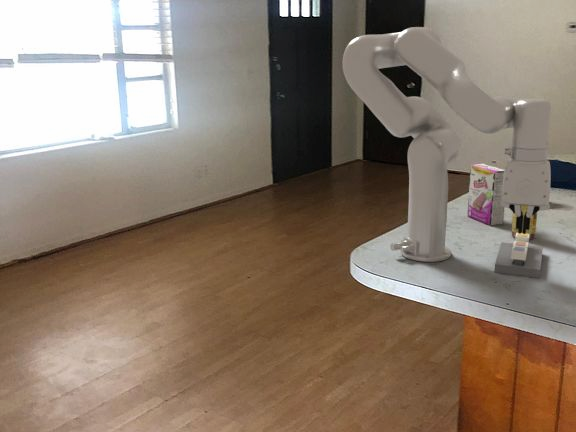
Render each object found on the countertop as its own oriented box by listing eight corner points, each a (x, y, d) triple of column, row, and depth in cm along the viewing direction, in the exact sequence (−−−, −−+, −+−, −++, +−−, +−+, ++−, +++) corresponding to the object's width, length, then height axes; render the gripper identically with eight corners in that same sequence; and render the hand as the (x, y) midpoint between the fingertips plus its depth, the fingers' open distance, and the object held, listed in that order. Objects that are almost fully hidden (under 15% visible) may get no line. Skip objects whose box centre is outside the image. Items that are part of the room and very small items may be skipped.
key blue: (524, 266, 144) (526, 251, 142) (510, 265, 145) (511, 249, 144) (525, 262, 146) (527, 247, 145) (511, 260, 148) (512, 245, 147)
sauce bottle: (536, 241, 166) (544, 169, 161) (512, 240, 167) (519, 168, 162) (532, 233, 172) (539, 164, 167) (509, 232, 174) (515, 163, 168)
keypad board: (539, 277, 142) (540, 269, 141) (494, 272, 146) (494, 264, 145) (542, 254, 157) (542, 246, 156) (500, 249, 160) (501, 242, 160)
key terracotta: (525, 261, 147) (527, 246, 146) (511, 259, 148) (513, 244, 147) (526, 257, 150) (528, 242, 149) (512, 255, 151) (514, 240, 150)
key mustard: (527, 251, 154) (528, 236, 152) (514, 249, 155) (515, 235, 154) (528, 247, 156) (529, 233, 155) (514, 245, 158) (516, 231, 157)
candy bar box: (466, 216, 189) (469, 164, 185) (479, 214, 191) (483, 163, 187) (490, 226, 179) (494, 171, 175) (503, 224, 181) (508, 170, 177)
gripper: (492, 155, 138) (487, 233, 143) (565, 159, 132) (556, 240, 137) (495, 150, 144) (490, 224, 149) (565, 153, 139) (557, 230, 144)
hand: (522, 232), depth 143 cm, fingers closed
